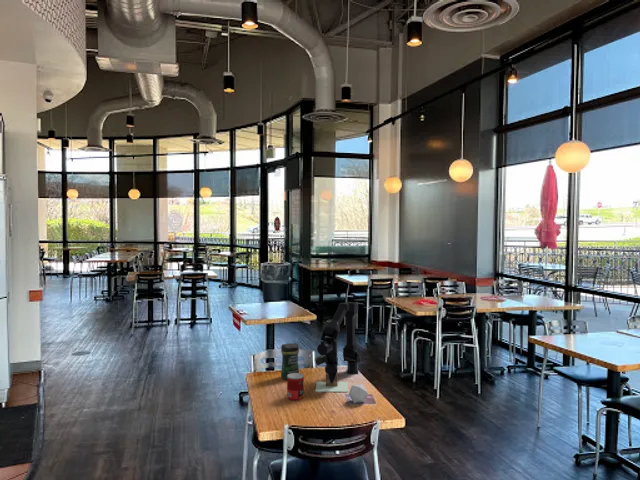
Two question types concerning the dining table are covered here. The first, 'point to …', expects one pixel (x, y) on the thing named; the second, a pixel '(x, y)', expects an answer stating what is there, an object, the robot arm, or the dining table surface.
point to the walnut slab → (335, 382)
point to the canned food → (295, 386)
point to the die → (358, 393)
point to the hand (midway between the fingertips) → (331, 380)
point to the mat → (331, 387)
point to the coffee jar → (289, 359)
